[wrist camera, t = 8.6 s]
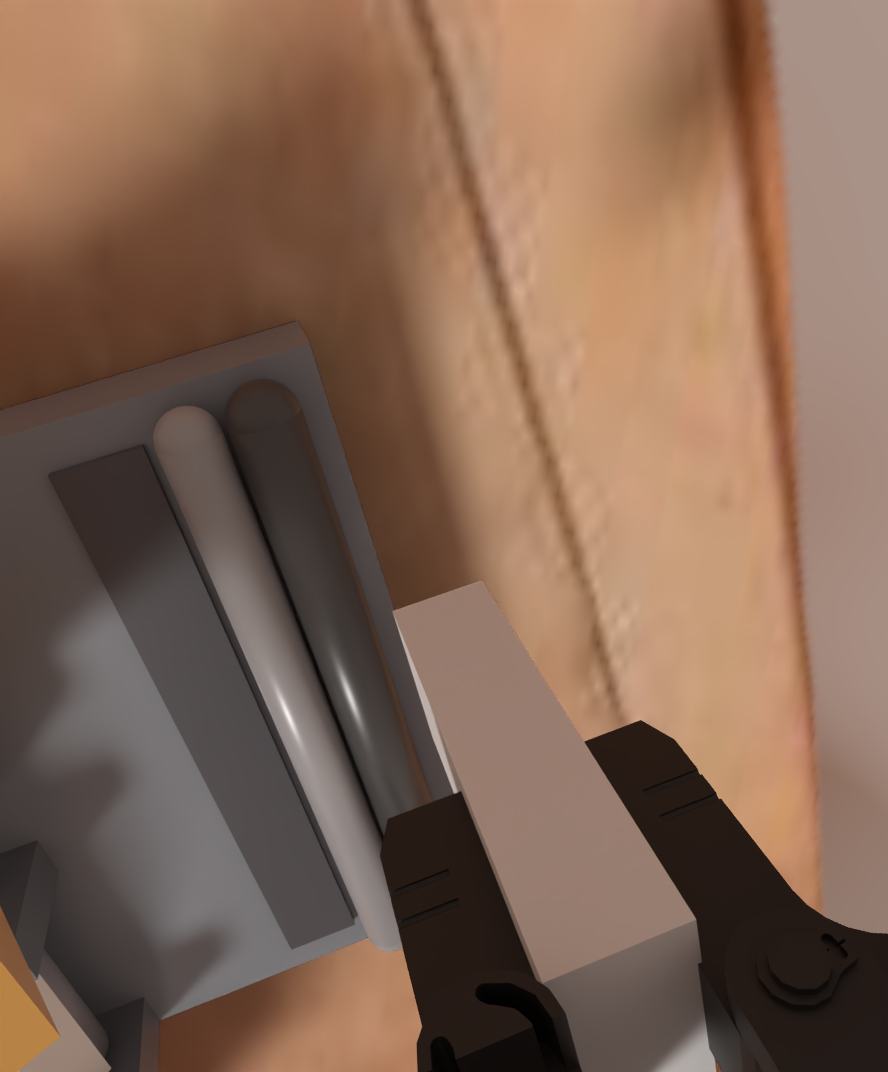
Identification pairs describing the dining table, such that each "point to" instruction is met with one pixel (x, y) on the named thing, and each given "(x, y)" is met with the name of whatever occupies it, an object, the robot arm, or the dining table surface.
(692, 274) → the dining table surface
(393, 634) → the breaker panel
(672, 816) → the robot arm
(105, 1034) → the block
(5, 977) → the block
